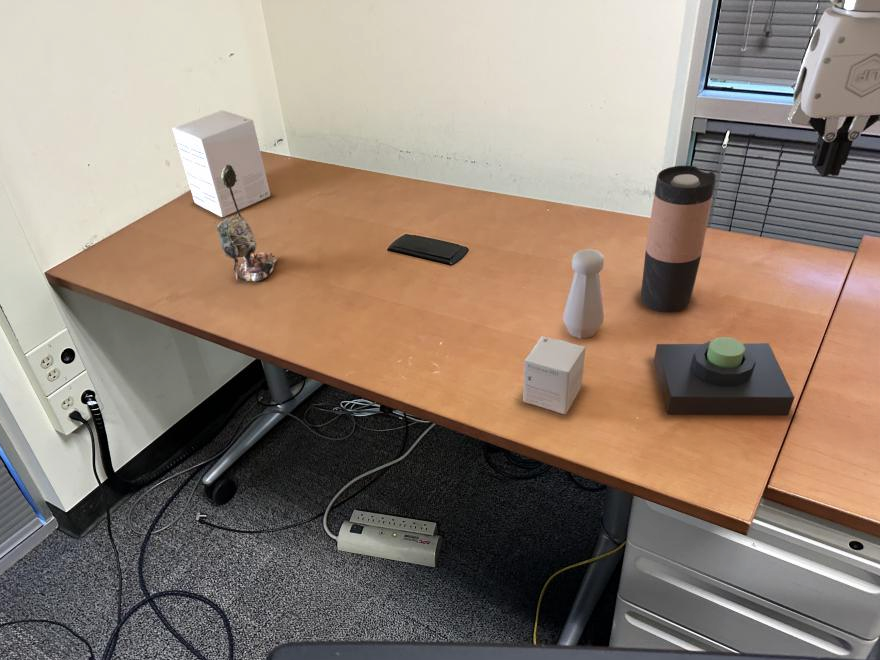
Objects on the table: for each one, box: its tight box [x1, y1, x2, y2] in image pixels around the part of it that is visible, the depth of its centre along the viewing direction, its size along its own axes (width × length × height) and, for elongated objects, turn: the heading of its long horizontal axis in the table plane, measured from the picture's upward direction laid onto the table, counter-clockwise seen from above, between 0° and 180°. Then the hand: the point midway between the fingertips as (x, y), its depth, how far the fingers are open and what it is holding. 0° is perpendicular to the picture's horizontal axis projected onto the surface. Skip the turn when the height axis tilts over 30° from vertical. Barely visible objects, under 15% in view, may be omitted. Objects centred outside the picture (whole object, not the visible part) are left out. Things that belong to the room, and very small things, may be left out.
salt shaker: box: [562, 248, 605, 340], centre depth 99 cm, size 6×6×13 cm
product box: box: [522, 335, 587, 415], centre depth 90 cm, size 6×6×7 cm
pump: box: [707, 336, 745, 368], centre depth 86 cm, size 4×4×2 cm
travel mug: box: [640, 165, 717, 313], centre depth 100 cm, size 8×8×20 cm
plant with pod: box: [214, 165, 279, 282], centre depth 123 cm, size 8×11×20 cm
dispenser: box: [653, 340, 796, 417], centre depth 88 cm, size 14×11×5 cm
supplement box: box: [172, 110, 271, 218], centre depth 152 cm, size 13×13×18 cm
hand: (825, 171), depth 79 cm, fingers closed
